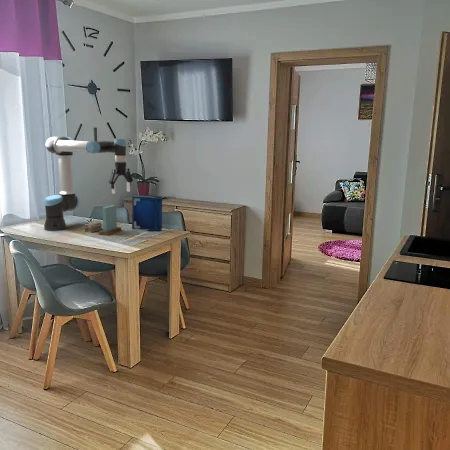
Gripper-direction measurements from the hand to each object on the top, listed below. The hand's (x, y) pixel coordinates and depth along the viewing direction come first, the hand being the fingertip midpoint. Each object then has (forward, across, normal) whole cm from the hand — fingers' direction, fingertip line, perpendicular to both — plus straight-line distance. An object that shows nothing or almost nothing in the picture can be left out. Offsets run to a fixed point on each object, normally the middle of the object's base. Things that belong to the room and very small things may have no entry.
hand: (121, 192), depth 308 cm
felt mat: (+28, -7, -12) cm, 31 cm away
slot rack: (+28, -10, +1) cm, 30 cm away
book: (+28, +15, -11) cm, 33 cm away
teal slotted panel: (+27, -10, +1) cm, 28 cm away
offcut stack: (+28, -13, +15) cm, 34 cm away
